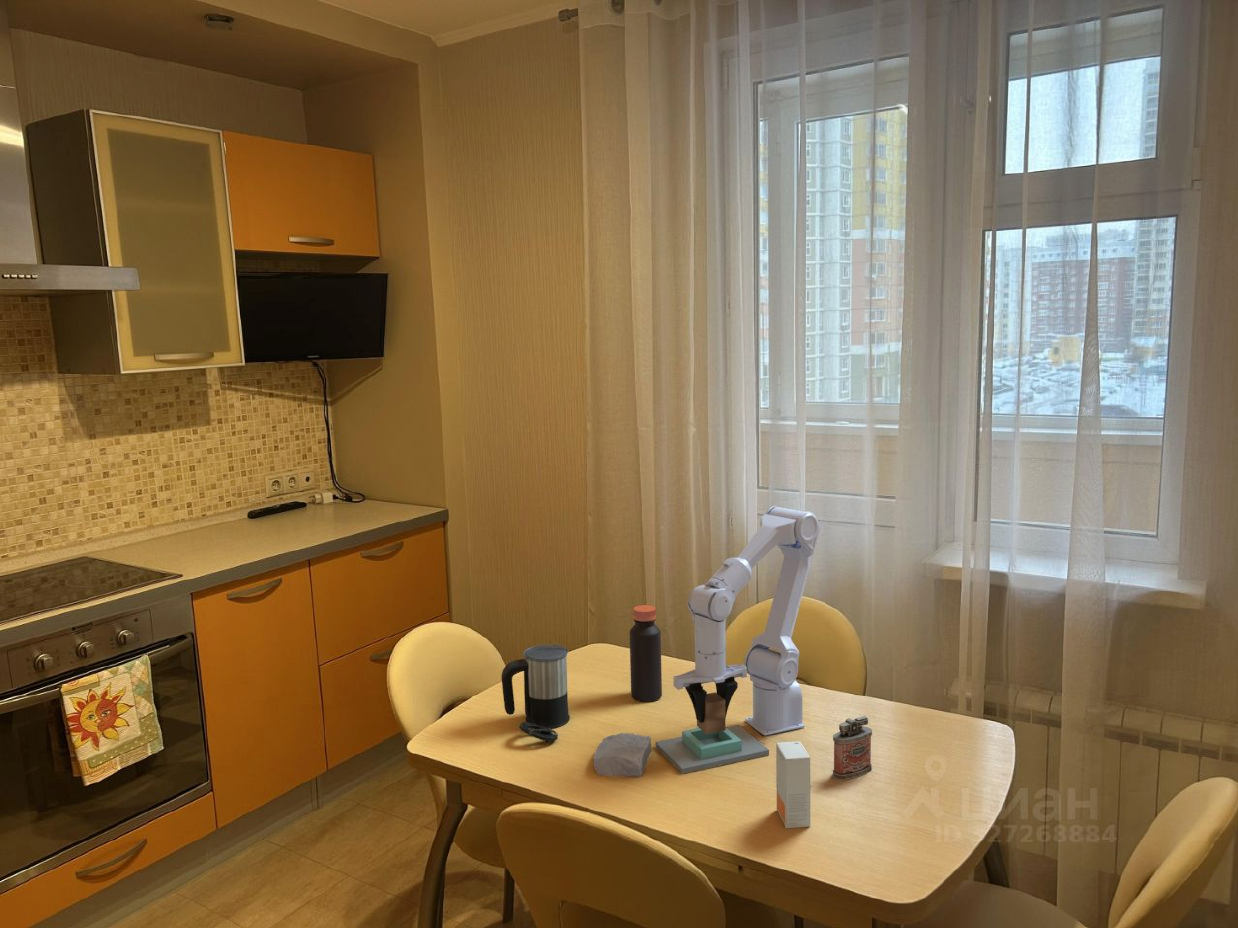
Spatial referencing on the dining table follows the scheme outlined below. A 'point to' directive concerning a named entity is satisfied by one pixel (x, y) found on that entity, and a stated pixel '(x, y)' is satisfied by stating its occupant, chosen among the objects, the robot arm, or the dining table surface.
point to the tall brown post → (713, 714)
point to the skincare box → (793, 784)
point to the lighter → (852, 749)
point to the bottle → (645, 655)
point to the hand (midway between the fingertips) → (711, 718)
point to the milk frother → (540, 690)
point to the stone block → (622, 755)
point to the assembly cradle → (710, 748)
